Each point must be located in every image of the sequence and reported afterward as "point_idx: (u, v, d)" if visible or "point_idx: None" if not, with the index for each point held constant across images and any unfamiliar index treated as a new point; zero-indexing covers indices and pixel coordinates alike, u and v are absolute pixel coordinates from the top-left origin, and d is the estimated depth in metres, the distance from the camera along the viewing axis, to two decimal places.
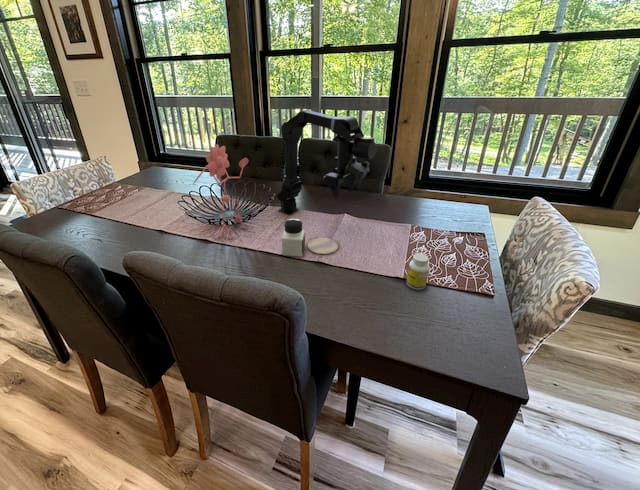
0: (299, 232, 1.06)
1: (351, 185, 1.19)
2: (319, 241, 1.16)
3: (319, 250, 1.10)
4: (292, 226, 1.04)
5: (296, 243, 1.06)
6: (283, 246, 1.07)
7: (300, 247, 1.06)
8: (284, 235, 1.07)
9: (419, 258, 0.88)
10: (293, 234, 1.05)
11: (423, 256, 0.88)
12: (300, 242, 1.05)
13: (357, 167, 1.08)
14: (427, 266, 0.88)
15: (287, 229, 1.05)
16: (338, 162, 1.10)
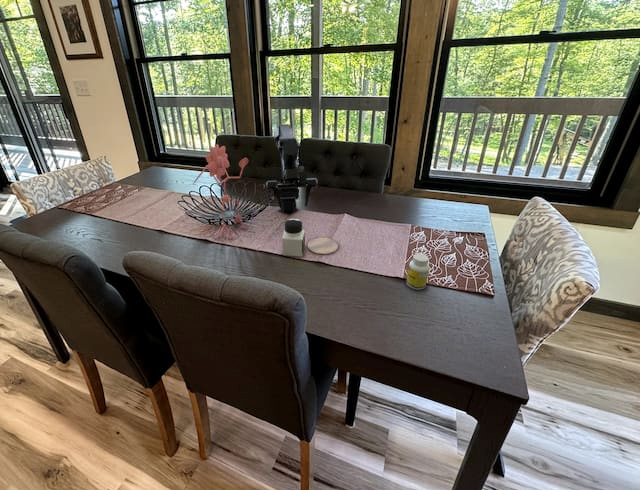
0: (299, 232, 1.06)
1: (305, 199, 1.13)
2: (319, 241, 1.16)
3: (319, 250, 1.10)
4: (292, 226, 1.04)
5: (296, 243, 1.06)
6: (283, 246, 1.07)
7: (300, 247, 1.06)
8: (284, 235, 1.07)
9: (419, 258, 0.88)
10: (293, 234, 1.05)
11: (423, 256, 0.88)
12: (300, 242, 1.05)
13: None
14: (427, 266, 0.88)
15: (287, 229, 1.05)
16: None
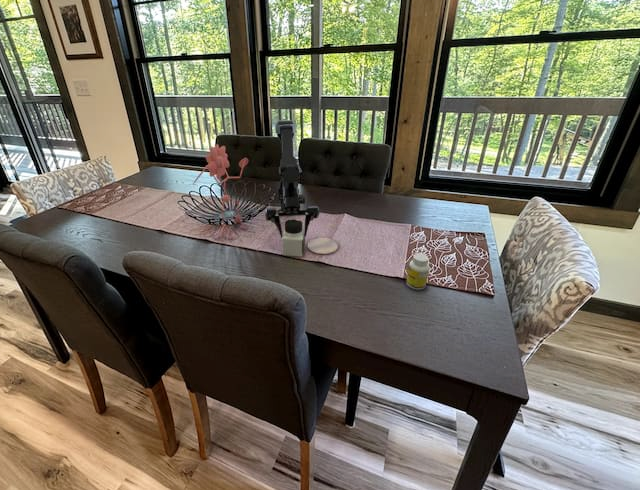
0: (299, 232, 1.06)
1: (304, 228, 1.08)
2: (319, 241, 1.16)
3: (319, 250, 1.10)
4: (292, 226, 1.04)
5: (296, 243, 1.06)
6: (283, 246, 1.07)
7: (300, 247, 1.06)
8: (284, 235, 1.07)
9: (419, 258, 0.88)
10: (293, 234, 1.05)
11: (423, 256, 0.88)
12: (300, 242, 1.05)
13: None
14: (427, 266, 0.88)
15: (287, 229, 1.05)
16: None
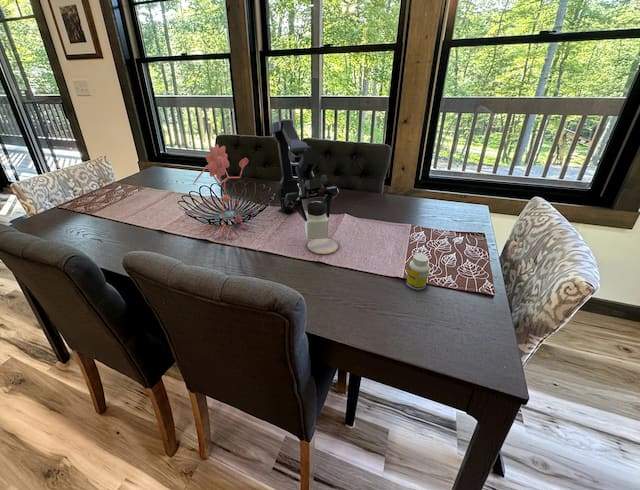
0: (324, 213, 1.05)
1: (326, 209, 1.07)
2: (319, 241, 1.16)
3: (319, 250, 1.10)
4: (318, 208, 1.03)
5: (322, 225, 1.05)
6: (308, 230, 1.05)
7: (326, 228, 1.06)
8: (308, 218, 1.05)
9: (419, 258, 0.88)
10: (319, 216, 1.04)
11: (423, 256, 0.88)
12: (326, 223, 1.05)
13: None
14: (427, 266, 0.88)
15: (312, 212, 1.03)
16: (300, 186, 1.10)
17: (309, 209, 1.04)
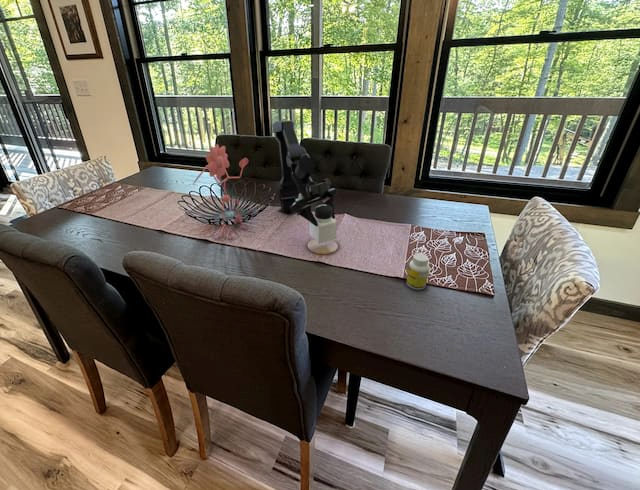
0: None
1: None
2: None
3: (319, 250, 1.10)
4: (328, 211, 1.05)
5: (332, 227, 1.07)
6: (320, 234, 1.07)
7: (335, 230, 1.08)
8: (318, 223, 1.06)
9: (419, 258, 0.88)
10: (329, 219, 1.06)
11: (423, 256, 0.88)
12: (335, 225, 1.08)
13: (314, 185, 1.05)
14: (427, 266, 0.88)
15: (323, 215, 1.05)
16: (301, 193, 1.10)
17: (319, 213, 1.05)
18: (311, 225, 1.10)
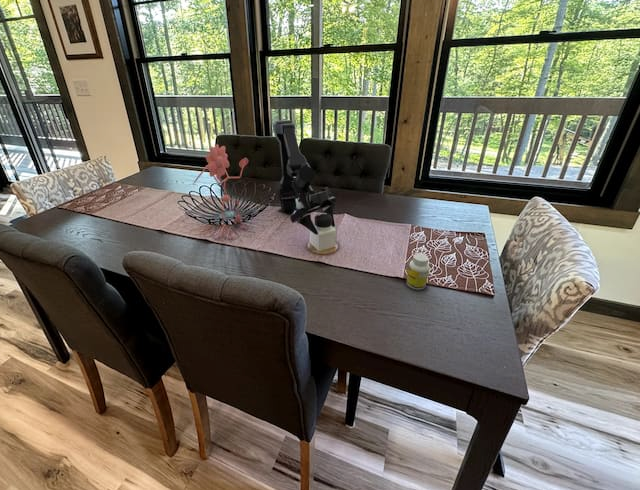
0: (331, 224, 1.09)
1: None
2: None
3: None
4: (328, 220, 1.06)
5: (332, 235, 1.09)
6: (320, 242, 1.08)
7: (335, 238, 1.10)
8: (318, 231, 1.08)
9: (419, 258, 0.88)
10: (328, 227, 1.07)
11: (423, 256, 0.88)
12: (335, 233, 1.09)
13: (314, 194, 1.06)
14: (427, 266, 0.88)
15: (323, 224, 1.06)
16: (301, 201, 1.11)
17: (319, 222, 1.07)
18: (311, 233, 1.12)
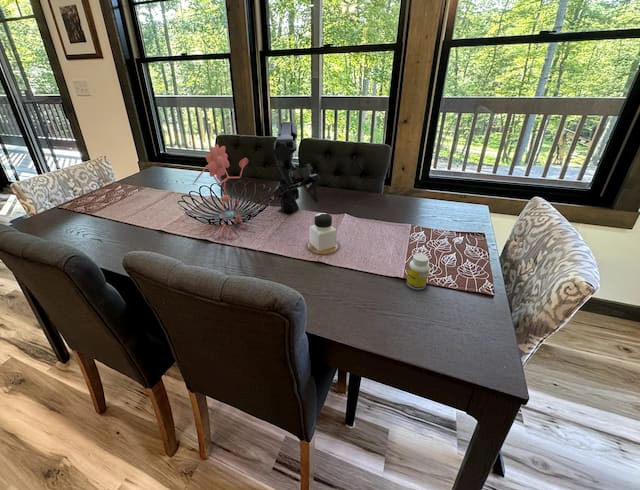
0: (331, 224, 1.09)
1: (314, 195, 1.16)
2: None
3: None
4: (328, 220, 1.06)
5: (332, 235, 1.09)
6: (320, 242, 1.08)
7: (335, 238, 1.10)
8: (318, 231, 1.08)
9: (419, 258, 0.88)
10: (328, 227, 1.08)
11: (423, 256, 0.88)
12: (335, 233, 1.09)
13: (296, 170, 1.10)
14: (427, 266, 0.88)
15: (322, 224, 1.06)
16: (284, 178, 1.15)
17: (318, 222, 1.07)
18: (311, 233, 1.12)
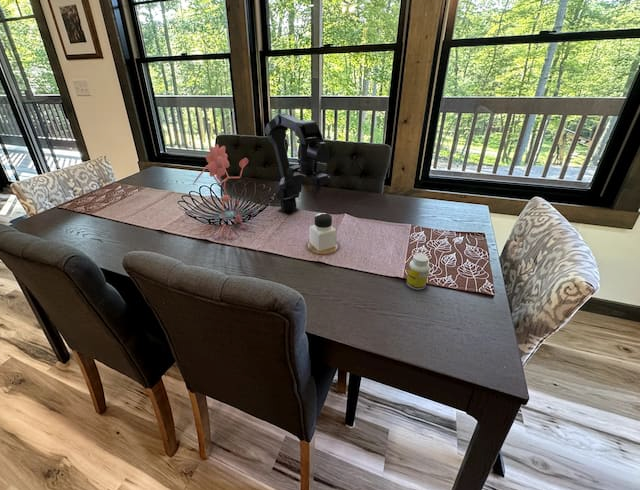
0: (331, 224, 1.09)
1: (300, 185, 1.26)
2: None
3: None
4: (328, 220, 1.06)
5: (332, 235, 1.09)
6: (320, 242, 1.08)
7: (335, 238, 1.10)
8: (318, 231, 1.08)
9: (419, 258, 0.88)
10: (328, 227, 1.08)
11: (423, 256, 0.88)
12: (335, 233, 1.09)
13: (320, 162, 1.20)
14: (427, 266, 0.88)
15: (322, 224, 1.06)
16: (309, 164, 1.15)
17: (318, 222, 1.07)
18: (311, 233, 1.12)
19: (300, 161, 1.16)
